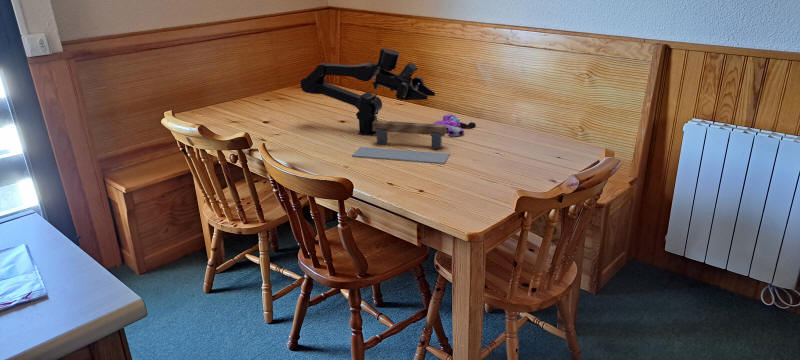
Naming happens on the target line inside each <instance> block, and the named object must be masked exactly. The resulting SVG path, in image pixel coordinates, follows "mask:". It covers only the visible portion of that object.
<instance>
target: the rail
mask: <svg viewBox="0 0 800 360" xmlns="http://www.w3.org/2000/svg"><path fill="white" fill-rule="evenodd" d="M377 120H378V119H377ZM377 120H375V121H374V122H373V123H372V127H373V131H375V129H376V128H379V129H384V132H387V133H399V134H414V135H426V136H427V135H429V136H431V132H439V133H440V135H441V136H442V137H444V136H445V135H446V134H447V131H446V125H441V124H433V123H423V122H422V123H421V122H408V121H407V122H405V121H394V120H393V121H392V120H391V121H390V120H378V121H377Z"/></svg>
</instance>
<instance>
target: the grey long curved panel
mask: <svg viewBox="0 0 800 360" xmlns="http://www.w3.org/2000/svg"><path fill="white" fill-rule="evenodd" d="M450 155H451V154H450V153H447V152H436V151H435V152H434V151H433V152H432V151H422V150H421V151H420V150H410V149H408V150H407V149H395V148H394V149H393V148H383V147H370V146H369V147H368V146H360V147H359V148H358V149H357V150H356V151H355V152H354V153H353V154H352V155H351V157H352V158H361V159H362V158H364V159H373V160H375V159H376V160H387V161H388V160H389V161H400V162H402V161H403V162H412V163H413V162H415V163H423V164H437V165H438V164H439V165H446V162H447V161H448V159H449V157H450Z"/></svg>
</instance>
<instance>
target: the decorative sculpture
mask: <svg viewBox="0 0 800 360" xmlns="http://www.w3.org/2000/svg"><path fill="white" fill-rule="evenodd" d="M432 124H441V125H446V132H447V133H448V135H449V136H450V137H460V136H461V135H463V134H464V132H465V130H464V129H465V128H470V129H471V128H472V129H473V128H475V127H476V126H477V125H476V122H474V121H473V122H472V121H471V122H469V123H467V124H466V123H464V122H462V121H460V118H459V117H457V116H456V115H453V114H451V113H450V114H444V115H443V116H442V119H441V120H438V121H434V122H433V123H432ZM463 128H464V129H463Z"/></svg>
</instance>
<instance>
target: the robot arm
mask: <svg viewBox="0 0 800 360" xmlns="http://www.w3.org/2000/svg"><path fill="white" fill-rule="evenodd" d="M399 56H400V52H399V51H397V50H395V49H388V48H381V49H380V50H379V58H378V61H377V62H375V63H374V62H367V63H366V62H364V63H360V64H354V65H353V64H340V63H328V62H322V63H320V64H318V65H317V66H316V68H314V69H313V71H311V72H310V73H309V74H308V75H307V76H306V77H304V78H302V79H301V81H300V88H301V90H302V91H303V93H306V94H312V95H324V96H326V97H329V98H331V99H335V100H337V101H340V102H342V103H345V104H348V105H351V106H353V107H355V108H356V109H357V110H358V111H357V112H356V113H355V116H356V119H357V120H358V129H359V131H358V132H357V134H358V135H366V136H367V135H369V136H375V135H377V132H376V131H373V127H372V123H373V122H374V121H375V120H377V121H379V120H378V116H377V115H379V111H381V110H382V108H383V101H382V99H381V98H380V97H378V96H377V94H372V93H371V92H369V91H365V92H364V93H362V94H359V93H355V92H354V91H353V92H352V91H350V90H348V89H344V88H341V87H338V86H336V85H333V84H331V83H328V82H327V81H326V80H325V79H326V77H327V76H335V77H336V76H337V77H339V76H340V77H348V78H349V77H350V78H354V79H355V80H358V81H362V82H369V81H371V80H373V79H374V78H375V79H374V81H373V82H371V84H372V85H373V89H374V90H377V89H379V88H380V87H381V86H382V87H384V88H387V89H389V91H391V92H394V91H395V92H396V93H395V97H396V99H397V100H399V101H423V100H425V101H426V100H428V97H434V96H435V95H436V92H435V91H434V90H432V89H431V88H429V87H428V86H426V85H425V82H424V79H423V77H420V76H416V77H412V76H413V74H415V72H417V70H418V66H417V65H416V63H413V62H408V63H407V64H406V65H405V66H404V68H403V69H402V70H401V72H399V73H398V74H397V73H394V72H393V70H396V68H397V66H398V65H397V64H398V61H399Z"/></svg>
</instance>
